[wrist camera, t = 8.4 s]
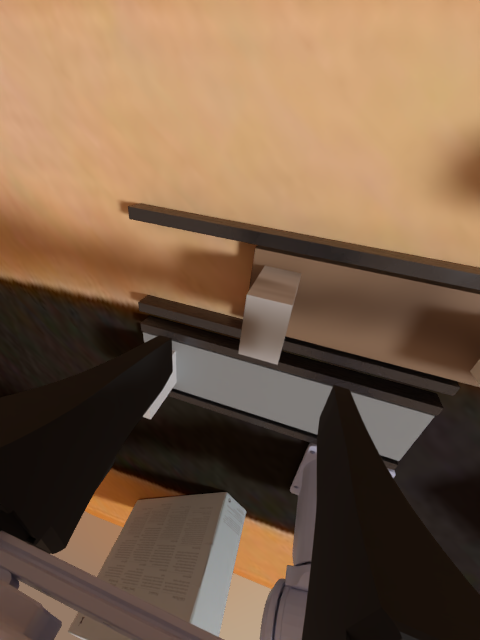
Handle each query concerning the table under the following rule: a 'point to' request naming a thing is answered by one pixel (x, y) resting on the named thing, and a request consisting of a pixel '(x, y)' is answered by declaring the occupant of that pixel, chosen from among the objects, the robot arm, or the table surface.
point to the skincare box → (174, 560)
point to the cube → (476, 372)
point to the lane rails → (293, 363)
